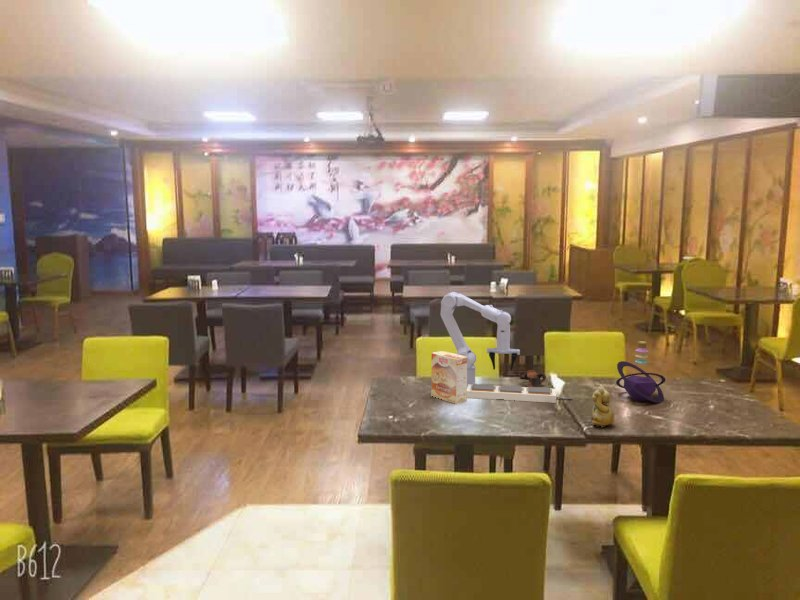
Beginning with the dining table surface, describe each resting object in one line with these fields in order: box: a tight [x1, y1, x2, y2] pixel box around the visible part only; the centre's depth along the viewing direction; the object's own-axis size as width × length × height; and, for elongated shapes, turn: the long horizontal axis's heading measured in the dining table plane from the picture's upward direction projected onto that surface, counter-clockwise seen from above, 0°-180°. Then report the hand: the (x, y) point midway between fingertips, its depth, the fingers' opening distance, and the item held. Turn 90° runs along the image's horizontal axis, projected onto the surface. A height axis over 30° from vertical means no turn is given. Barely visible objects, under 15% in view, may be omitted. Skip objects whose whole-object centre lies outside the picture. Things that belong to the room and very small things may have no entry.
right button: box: [527, 386, 551, 395], centre depth 275 cm, size 9×7×2 cm
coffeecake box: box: [430, 350, 468, 405], centre depth 273 cm, size 15×7×20 cm, turn 42°
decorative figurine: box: [591, 383, 615, 428], centre depth 240 cm, size 10×8×15 cm
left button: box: [472, 383, 495, 392], centre depth 279 cm, size 9×7×2 cm
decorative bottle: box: [615, 340, 667, 404], centre depth 272 cm, size 22×21×25 cm
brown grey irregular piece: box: [519, 369, 547, 387], centre depth 295 cm, size 12×10×8 cm
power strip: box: [467, 384, 573, 404], centre depth 277 cm, size 45×11×3 cm, turn 79°
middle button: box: [499, 385, 523, 393], centre depth 277 cm, size 9×7×2 cm
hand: (502, 369), depth 287 cm, fingers open, 7 cm apart
